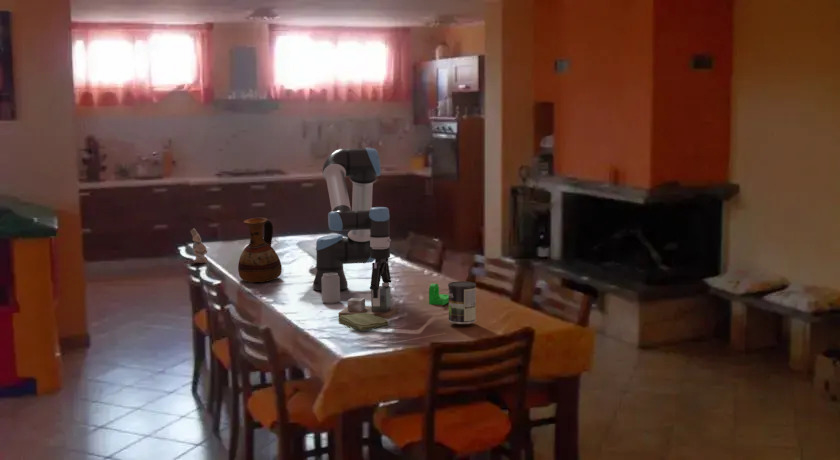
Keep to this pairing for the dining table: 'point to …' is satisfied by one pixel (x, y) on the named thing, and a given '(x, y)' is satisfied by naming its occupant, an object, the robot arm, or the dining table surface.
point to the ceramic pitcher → (259, 253)
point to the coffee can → (462, 302)
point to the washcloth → (362, 321)
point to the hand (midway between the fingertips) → (381, 302)
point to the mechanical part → (437, 296)
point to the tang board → (365, 309)
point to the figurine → (198, 247)
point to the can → (330, 288)
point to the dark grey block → (382, 300)
